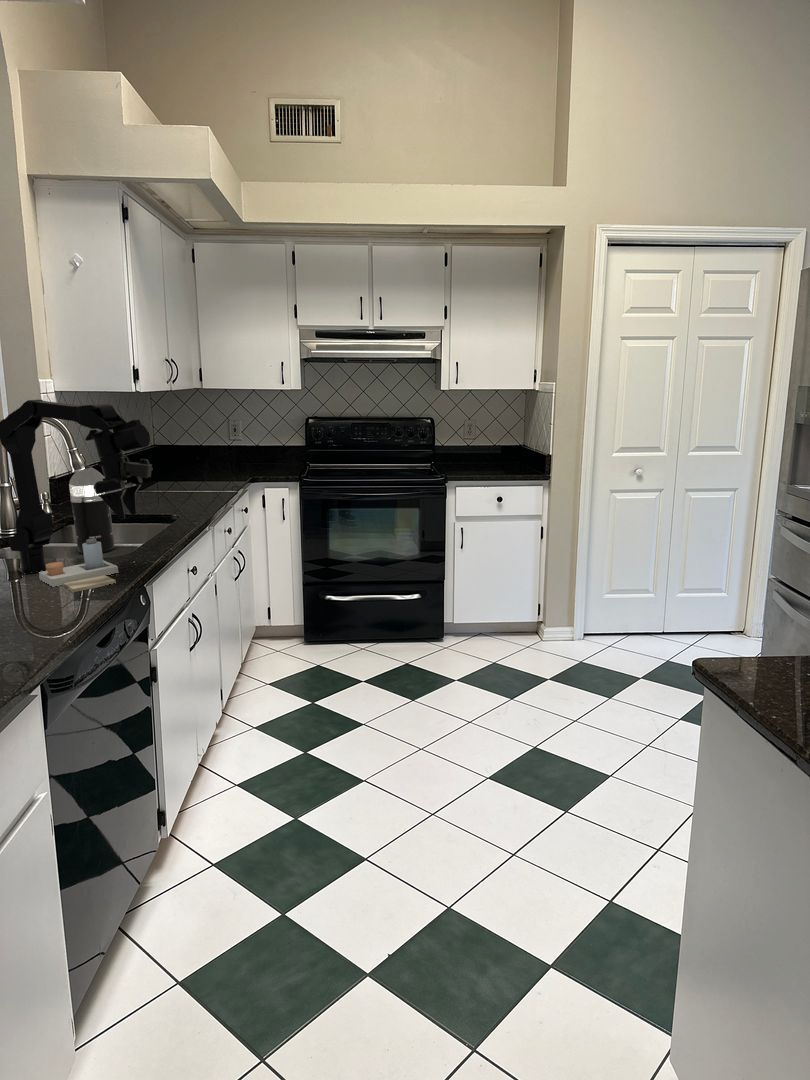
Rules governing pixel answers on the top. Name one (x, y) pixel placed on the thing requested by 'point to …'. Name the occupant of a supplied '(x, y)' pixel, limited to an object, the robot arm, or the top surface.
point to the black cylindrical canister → (90, 510)
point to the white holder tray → (77, 574)
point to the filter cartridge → (92, 554)
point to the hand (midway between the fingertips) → (128, 516)
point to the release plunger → (55, 568)
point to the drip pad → (89, 583)
